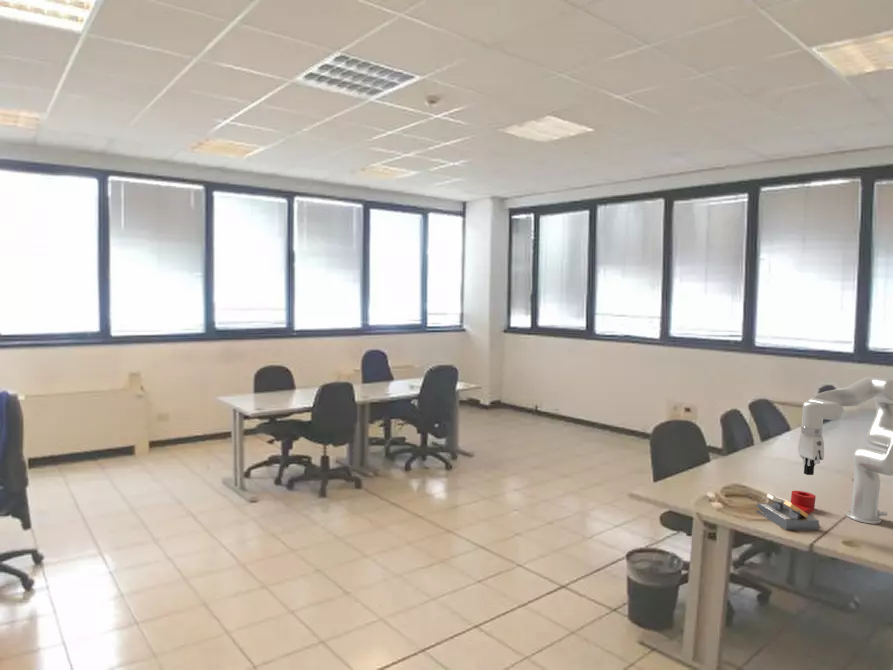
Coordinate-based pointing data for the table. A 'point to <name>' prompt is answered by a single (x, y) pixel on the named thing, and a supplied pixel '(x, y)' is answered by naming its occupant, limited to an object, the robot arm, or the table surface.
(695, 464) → the table surface
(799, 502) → the lever
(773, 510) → the breaker strip
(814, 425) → the robot arm
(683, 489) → the table surface
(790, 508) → the breaker lever
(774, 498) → the block
